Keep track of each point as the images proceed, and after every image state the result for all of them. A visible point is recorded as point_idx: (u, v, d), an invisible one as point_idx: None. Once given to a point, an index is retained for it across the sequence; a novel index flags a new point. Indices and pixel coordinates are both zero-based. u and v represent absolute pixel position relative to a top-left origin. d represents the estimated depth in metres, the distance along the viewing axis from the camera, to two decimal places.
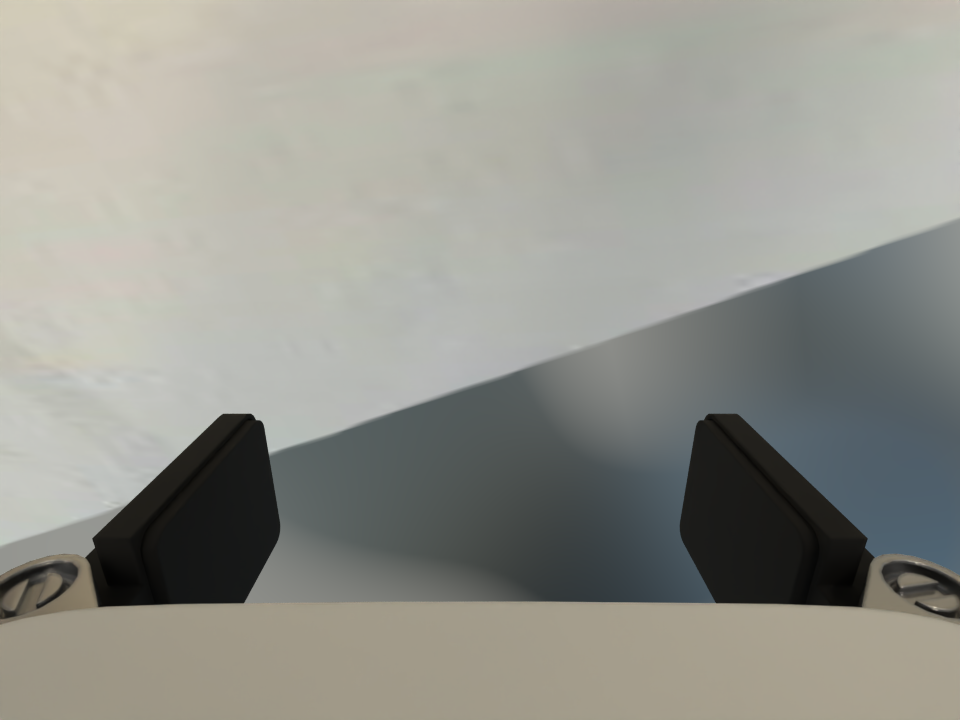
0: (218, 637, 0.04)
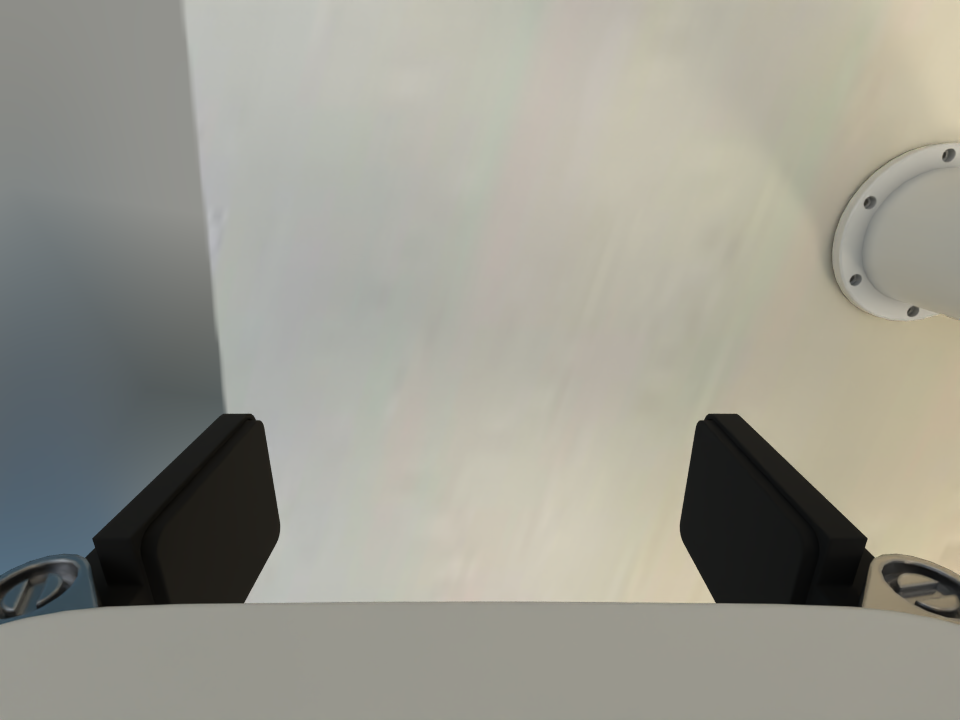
0: (219, 637, 0.04)
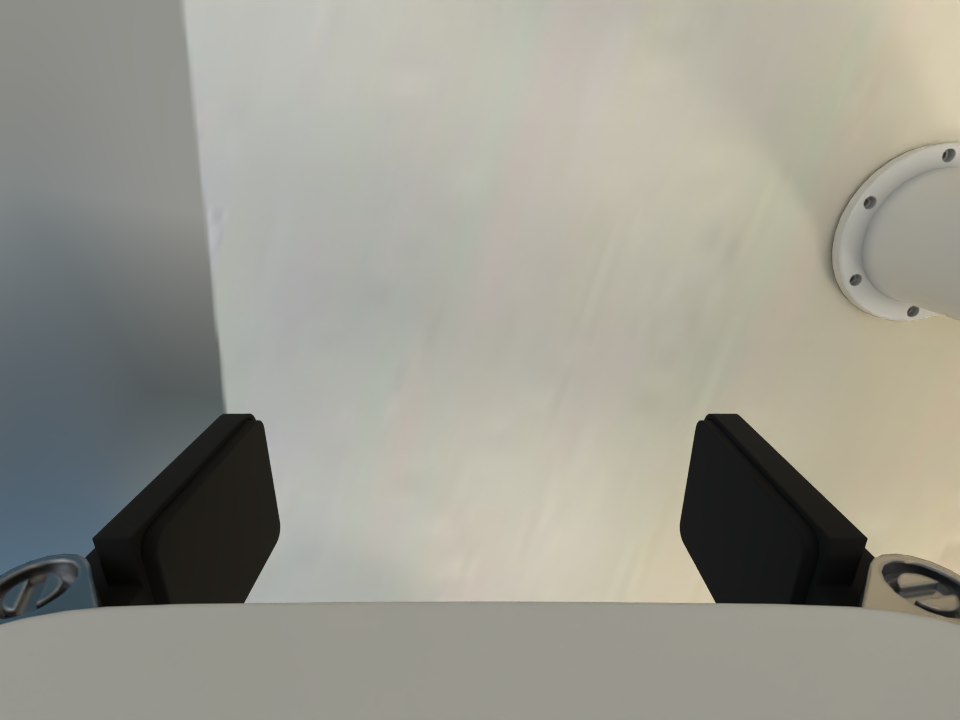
0: (219, 637, 0.04)
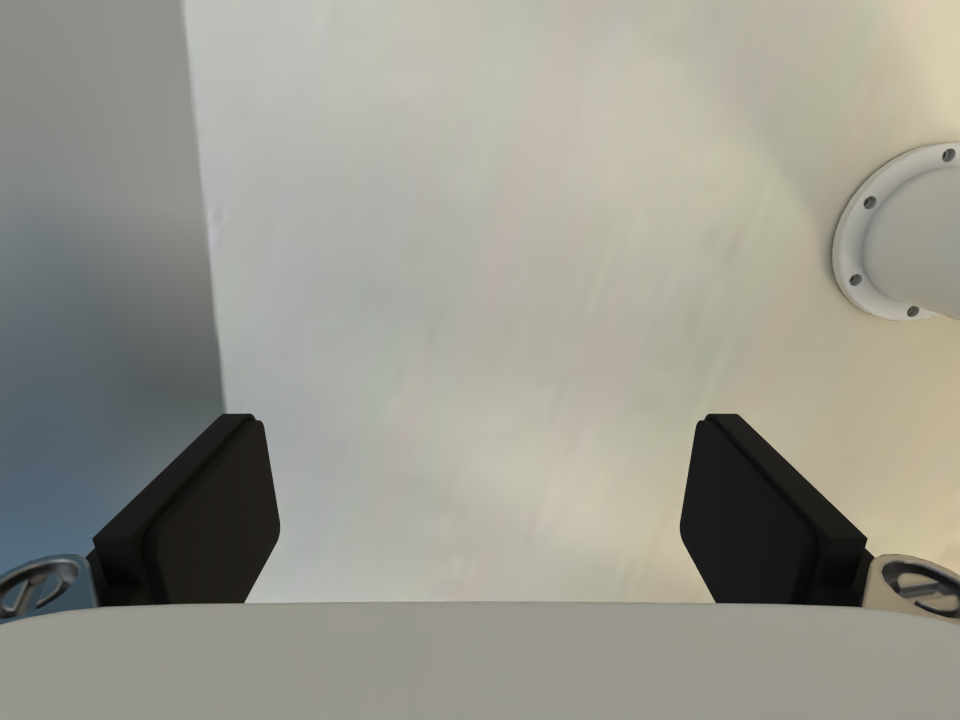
0: (219, 637, 0.04)
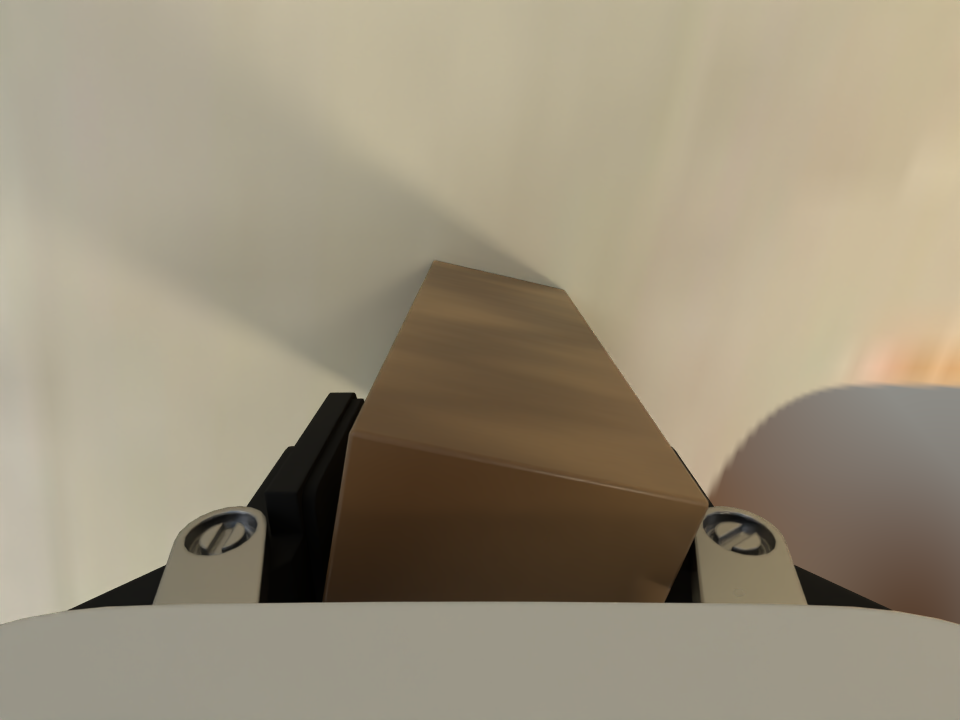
0: (218, 637, 0.04)
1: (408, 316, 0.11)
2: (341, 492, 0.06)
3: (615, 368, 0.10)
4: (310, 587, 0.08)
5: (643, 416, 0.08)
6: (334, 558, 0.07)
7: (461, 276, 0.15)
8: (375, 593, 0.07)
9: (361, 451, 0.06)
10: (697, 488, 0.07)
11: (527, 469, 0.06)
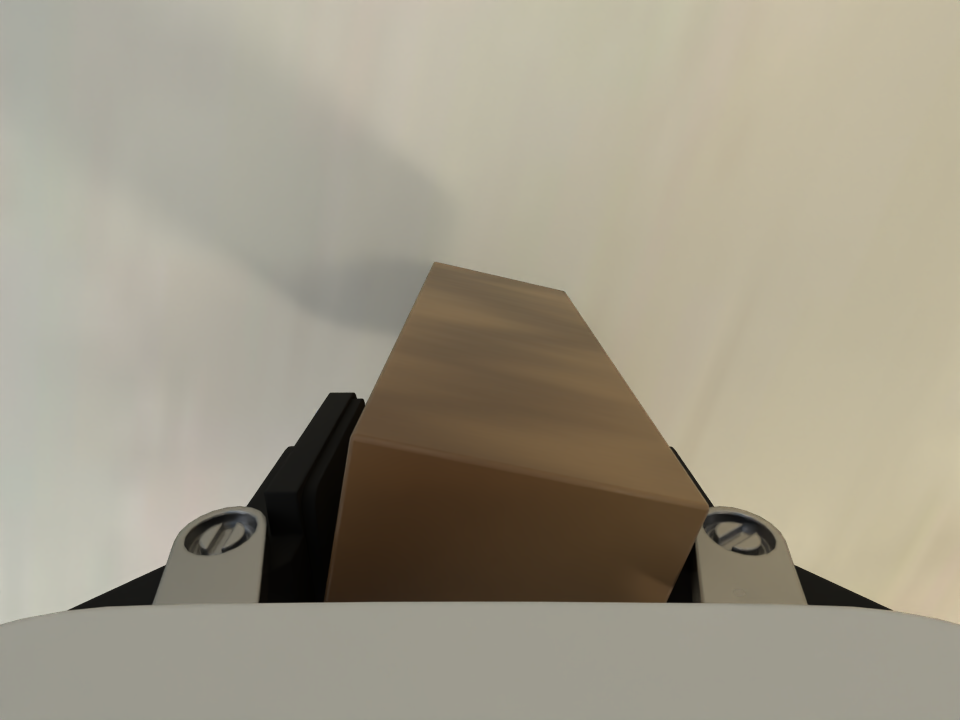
0: (218, 637, 0.04)
1: (408, 319, 0.11)
2: (341, 497, 0.06)
3: (615, 370, 0.10)
4: (310, 587, 0.08)
5: (643, 419, 0.08)
6: (335, 562, 0.07)
7: (461, 278, 0.15)
8: (376, 596, 0.07)
9: (362, 455, 0.06)
10: (697, 492, 0.07)
11: (528, 473, 0.06)
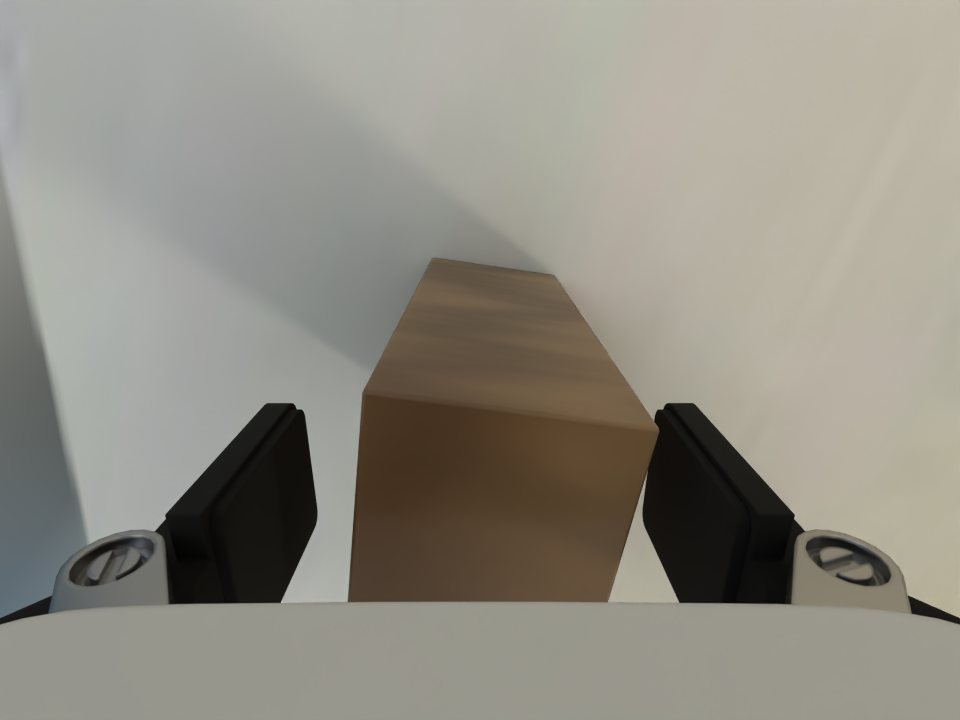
0: (218, 637, 0.04)
1: (409, 305, 0.12)
2: (360, 443, 0.08)
3: (593, 336, 0.12)
4: None
5: (613, 370, 0.10)
6: (359, 497, 0.08)
7: (457, 269, 0.17)
8: (394, 525, 0.08)
9: (373, 406, 0.08)
10: (651, 419, 0.08)
11: (507, 411, 0.08)
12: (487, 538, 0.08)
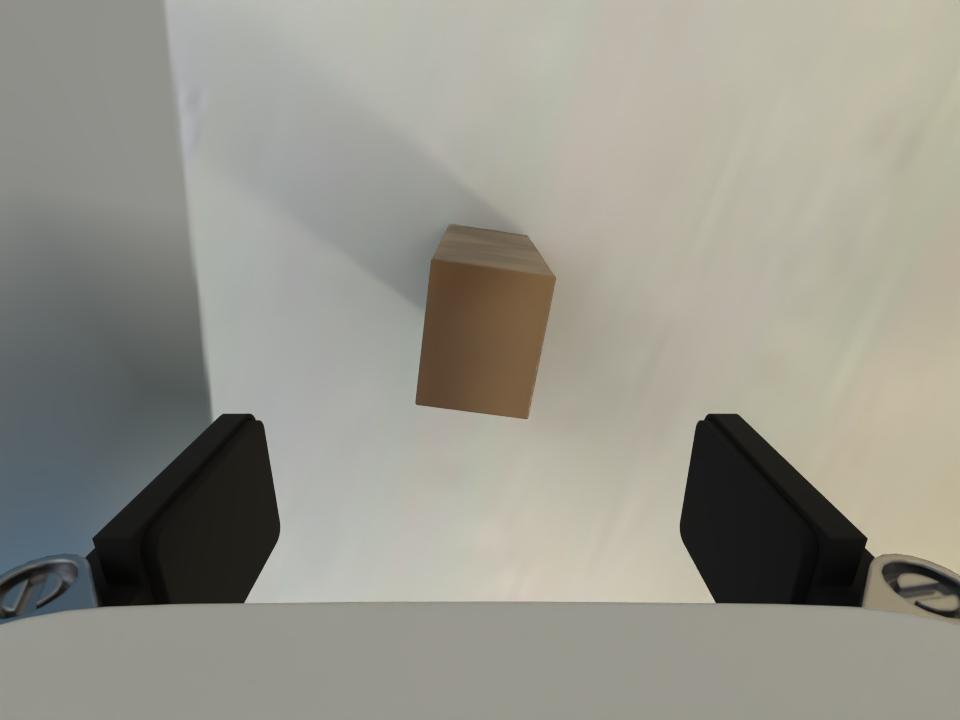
0: (218, 637, 0.04)
1: (442, 240, 0.23)
2: (428, 285, 0.19)
3: (540, 256, 0.23)
4: None
5: (544, 264, 0.21)
6: (427, 309, 0.19)
7: (466, 229, 0.28)
8: (442, 324, 0.19)
9: (435, 266, 0.18)
10: (553, 275, 0.19)
11: (491, 268, 0.18)
12: (483, 331, 0.19)
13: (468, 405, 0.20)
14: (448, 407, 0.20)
